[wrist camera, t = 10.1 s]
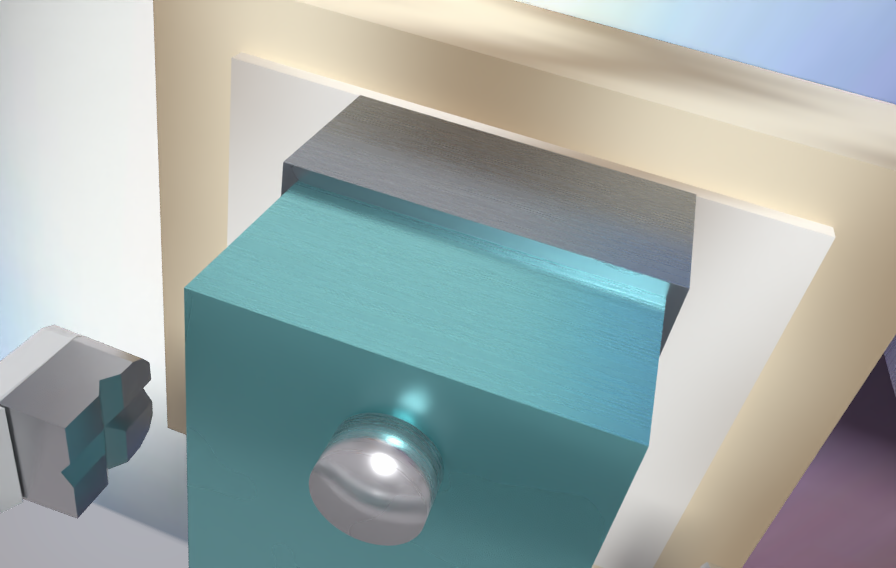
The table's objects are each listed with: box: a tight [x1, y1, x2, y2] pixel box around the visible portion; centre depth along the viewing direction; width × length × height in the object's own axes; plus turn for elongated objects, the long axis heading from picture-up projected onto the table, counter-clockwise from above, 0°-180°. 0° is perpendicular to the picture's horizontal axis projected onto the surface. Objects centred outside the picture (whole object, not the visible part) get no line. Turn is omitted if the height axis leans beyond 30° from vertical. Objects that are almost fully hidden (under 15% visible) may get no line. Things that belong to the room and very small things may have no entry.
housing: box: [184, 95, 696, 568], centre depth 11 cm, size 5×8×6 cm, turn 170°
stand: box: [153, 0, 896, 568], centre depth 15 cm, size 12×10×3 cm
